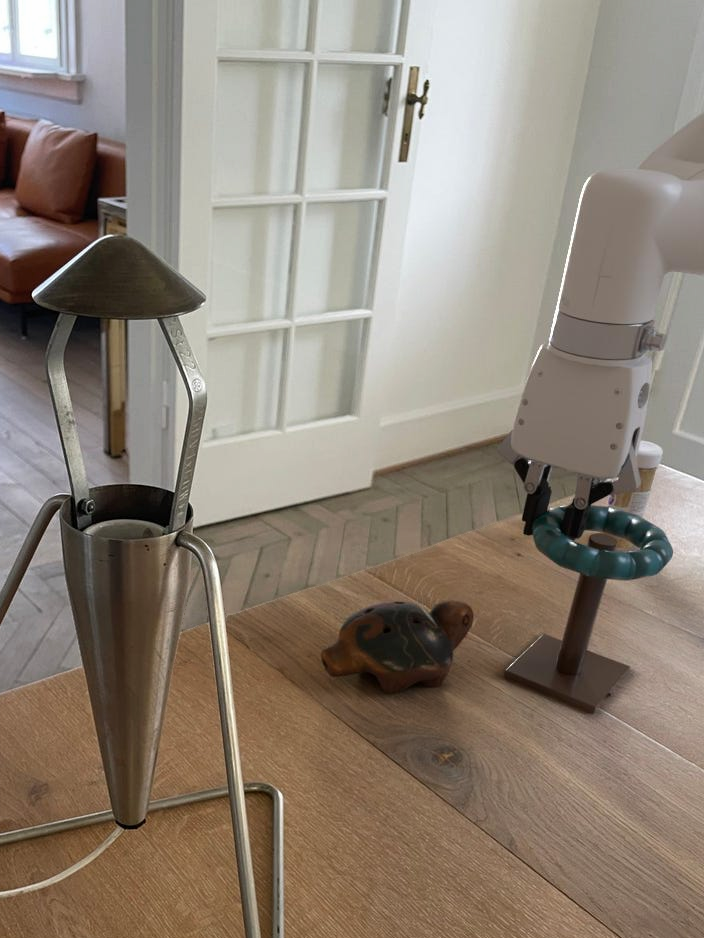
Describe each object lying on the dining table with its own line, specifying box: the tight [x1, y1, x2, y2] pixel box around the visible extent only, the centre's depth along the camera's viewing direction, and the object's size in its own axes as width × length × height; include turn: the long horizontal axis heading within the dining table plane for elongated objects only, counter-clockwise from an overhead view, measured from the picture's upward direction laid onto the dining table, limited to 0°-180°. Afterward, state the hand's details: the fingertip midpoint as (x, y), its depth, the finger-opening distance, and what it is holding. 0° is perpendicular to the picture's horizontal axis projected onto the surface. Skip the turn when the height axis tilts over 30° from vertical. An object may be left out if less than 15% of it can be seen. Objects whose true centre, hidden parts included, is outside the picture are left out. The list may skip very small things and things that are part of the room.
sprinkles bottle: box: [598, 440, 664, 549], centre depth 116 cm, size 5×5×13 cm
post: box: [503, 532, 631, 715], centre depth 91 cm, size 9×9×16 cm
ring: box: [532, 504, 674, 582], centre depth 87 cm, size 12×12×2 cm
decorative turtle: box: [320, 599, 474, 694], centre depth 92 cm, size 10×15×8 cm, turn 112°
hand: (550, 534), depth 90 cm, fingers closed on ring, 2 cm apart
